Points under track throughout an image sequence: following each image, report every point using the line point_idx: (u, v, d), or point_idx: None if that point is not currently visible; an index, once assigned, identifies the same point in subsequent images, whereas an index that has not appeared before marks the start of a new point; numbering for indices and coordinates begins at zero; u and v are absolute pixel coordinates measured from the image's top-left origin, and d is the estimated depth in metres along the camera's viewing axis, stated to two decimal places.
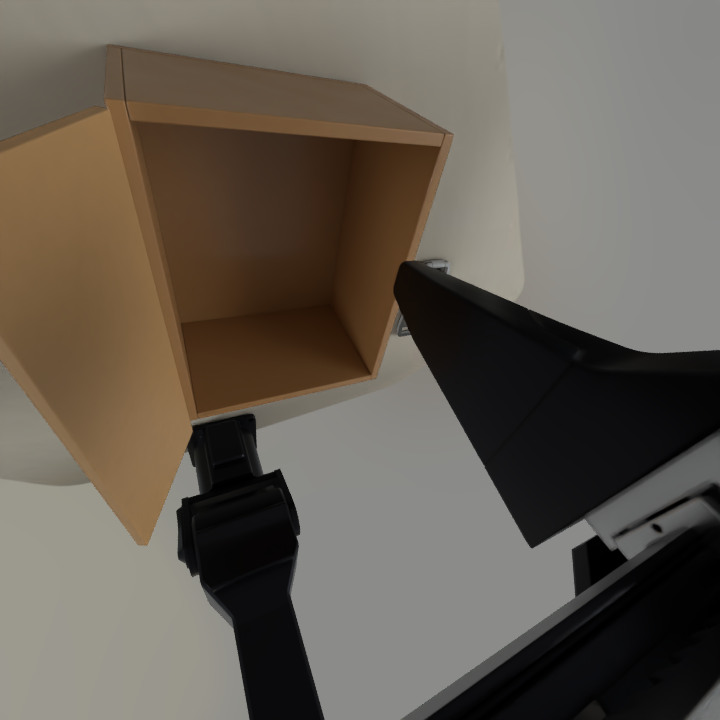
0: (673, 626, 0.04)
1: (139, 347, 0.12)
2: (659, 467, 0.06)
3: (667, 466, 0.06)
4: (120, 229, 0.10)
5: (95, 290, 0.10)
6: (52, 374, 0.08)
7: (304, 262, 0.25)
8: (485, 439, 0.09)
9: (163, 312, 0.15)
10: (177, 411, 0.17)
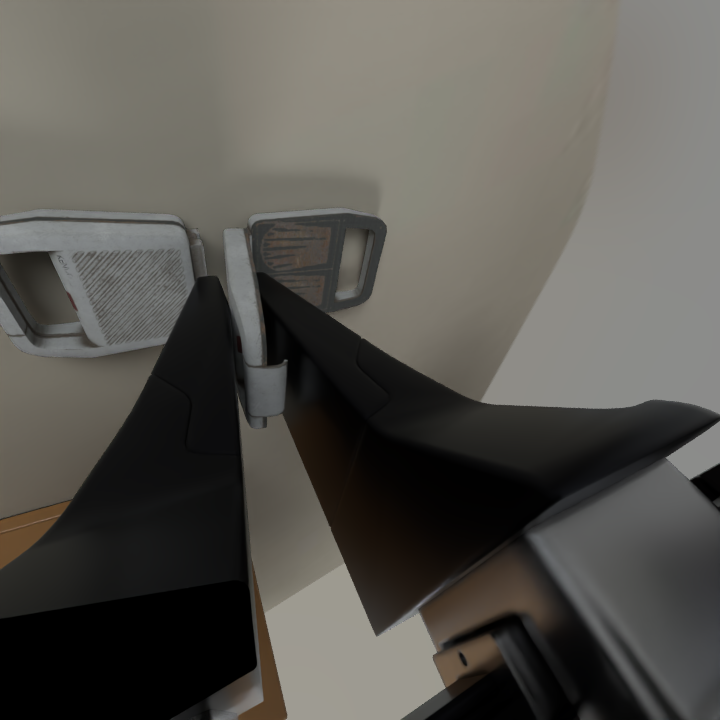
0: None
1: None
2: (460, 576, 0.04)
3: (474, 574, 0.04)
4: None
5: None
6: None
7: None
8: (325, 497, 0.07)
9: None
10: None
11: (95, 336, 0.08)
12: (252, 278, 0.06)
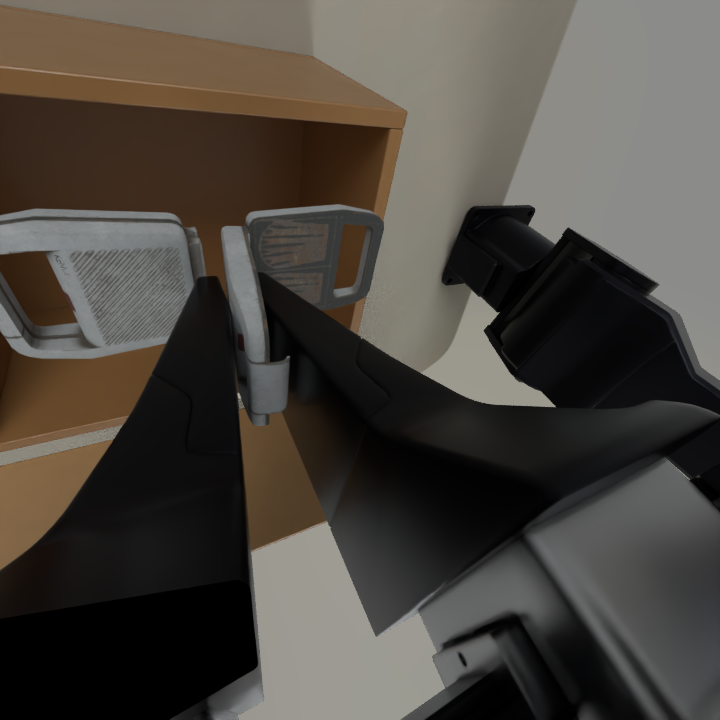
0: None
1: None
2: (460, 577, 0.04)
3: (474, 574, 0.04)
4: (70, 476, 0.13)
5: None
6: None
7: (214, 128, 0.16)
8: (325, 497, 0.07)
9: None
10: None
11: (94, 336, 0.08)
12: (253, 275, 0.06)
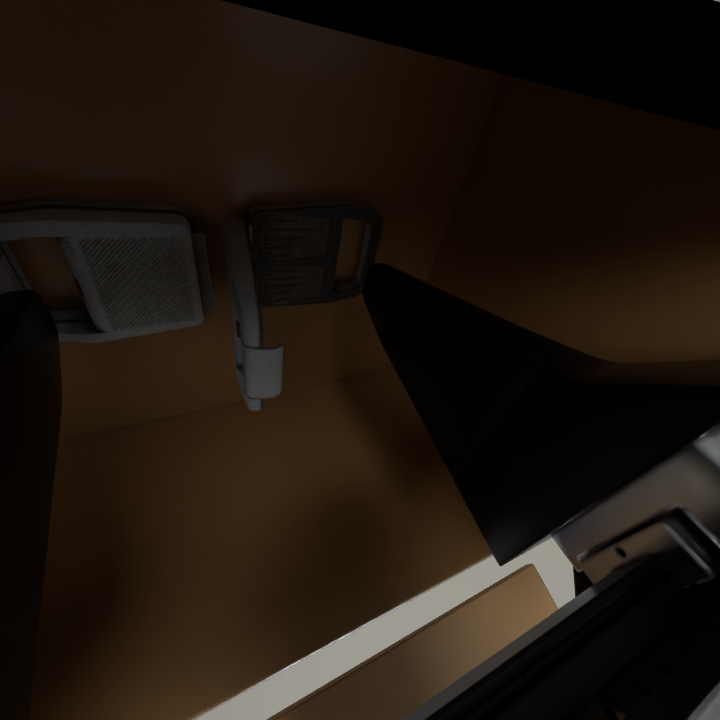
0: (673, 626, 0.04)
1: None
2: (623, 487, 0.05)
3: (631, 486, 0.05)
4: None
5: None
6: None
7: (340, 153, 0.09)
8: (452, 451, 0.08)
9: (295, 663, 0.09)
10: (476, 644, 0.10)
11: (102, 321, 0.08)
12: (250, 264, 0.06)
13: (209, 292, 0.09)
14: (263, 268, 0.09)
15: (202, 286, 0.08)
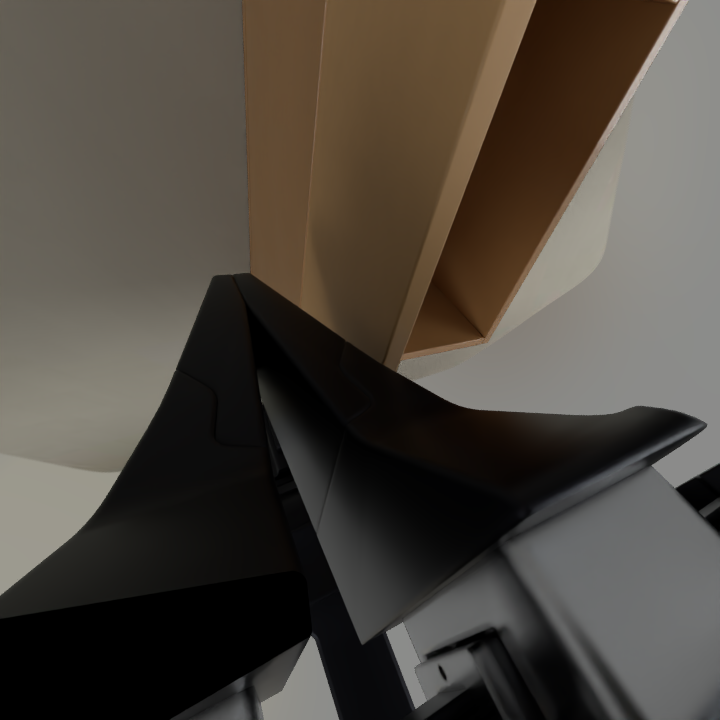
0: None
1: None
2: (439, 588, 0.04)
3: (453, 585, 0.04)
4: None
5: None
6: None
7: None
8: (310, 502, 0.07)
9: None
10: None
11: None
12: None
13: None
14: None
15: None
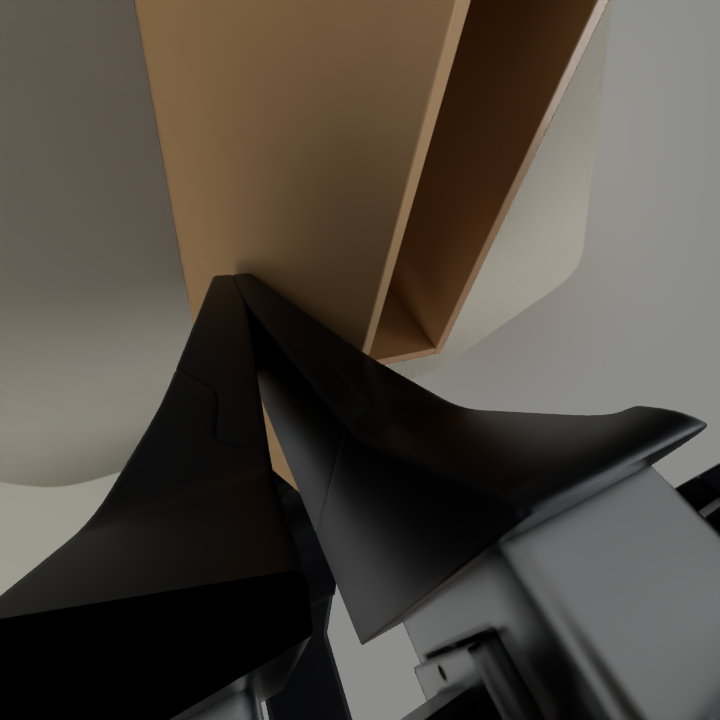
0: None
1: None
2: (439, 588, 0.04)
3: (453, 585, 0.04)
4: None
5: None
6: None
7: None
8: (310, 502, 0.07)
9: None
10: None
11: None
12: None
13: None
14: None
15: None
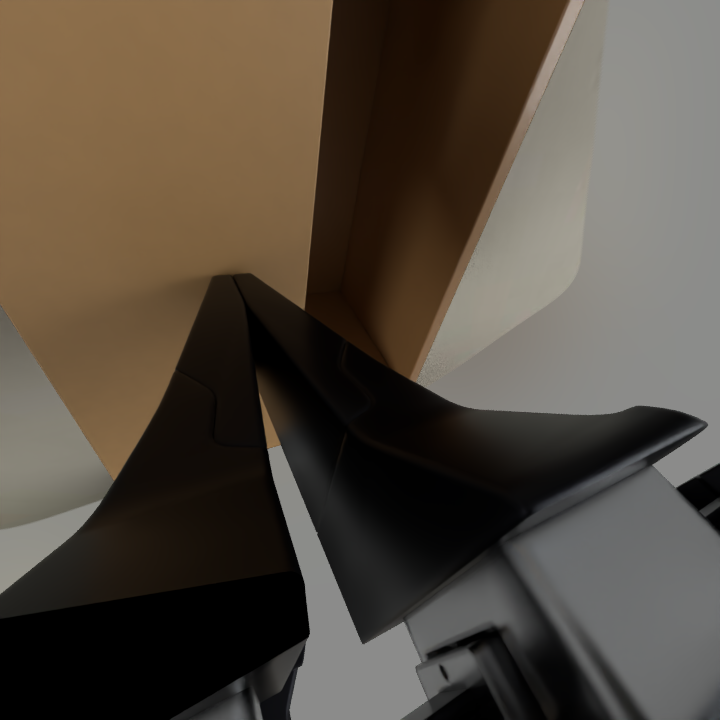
0: None
1: None
2: (440, 587, 0.04)
3: (454, 585, 0.04)
4: None
5: None
6: None
7: None
8: (311, 502, 0.07)
9: None
10: None
11: None
12: None
13: None
14: None
15: None
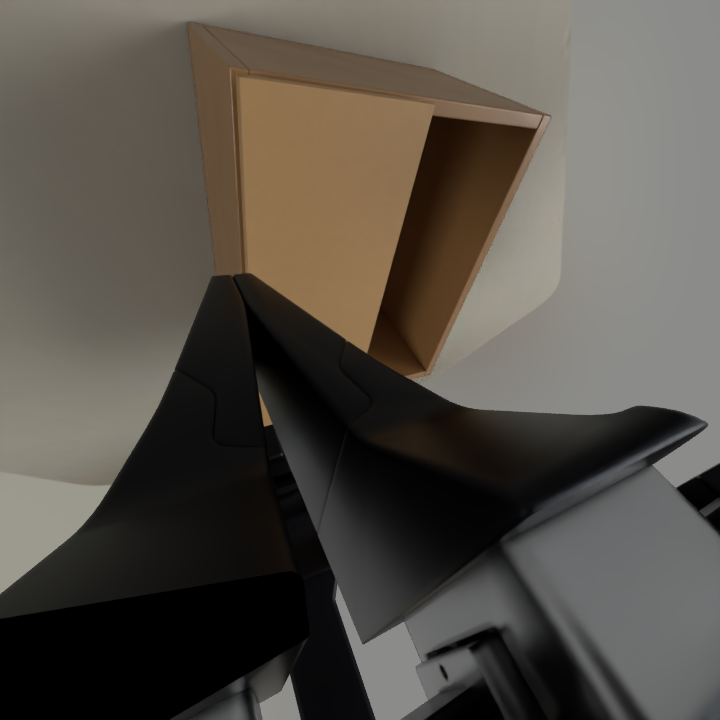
0: None
1: None
2: (441, 587, 0.04)
3: (454, 584, 0.04)
4: None
5: None
6: None
7: None
8: (311, 502, 0.07)
9: None
10: None
11: None
12: None
13: None
14: None
15: None
